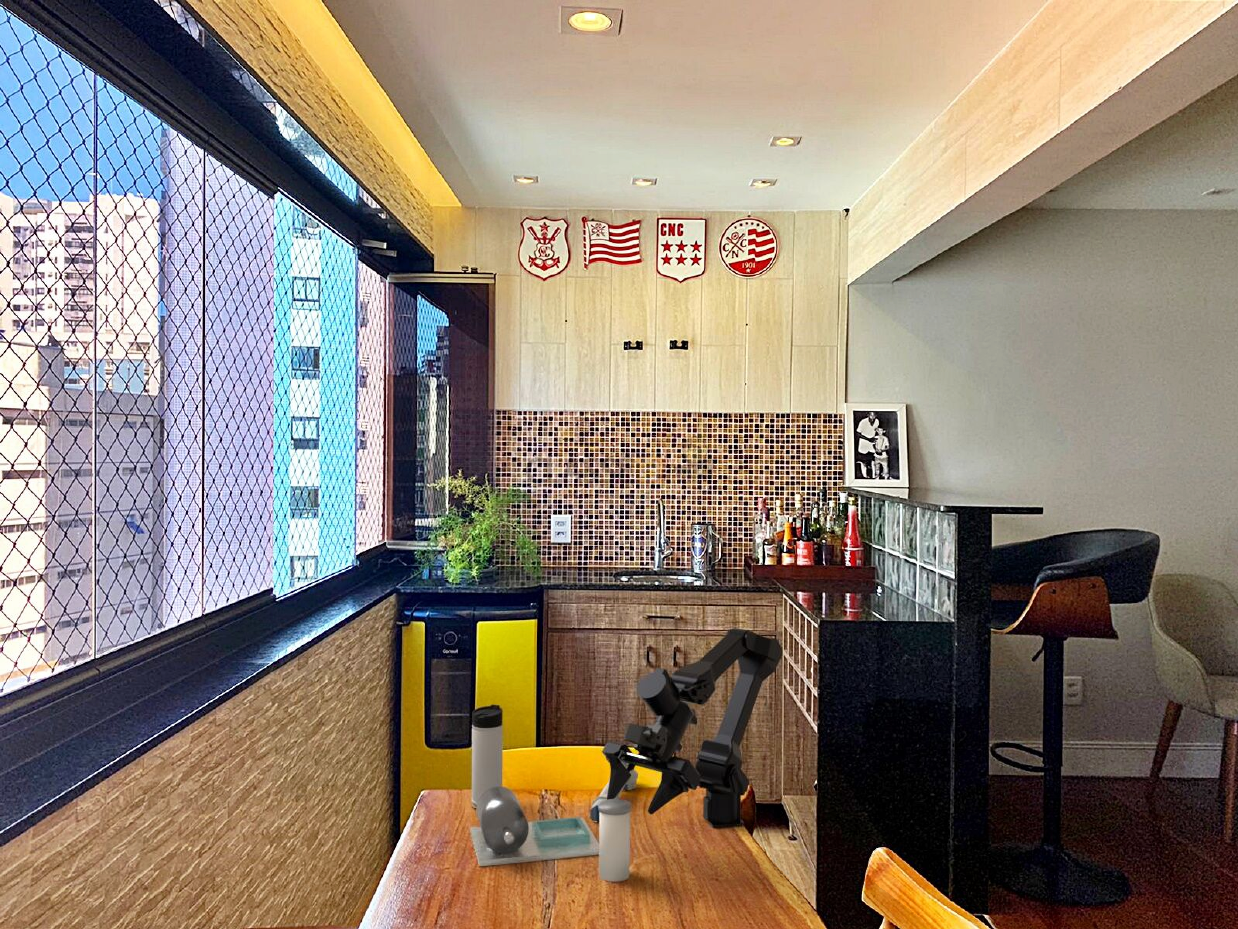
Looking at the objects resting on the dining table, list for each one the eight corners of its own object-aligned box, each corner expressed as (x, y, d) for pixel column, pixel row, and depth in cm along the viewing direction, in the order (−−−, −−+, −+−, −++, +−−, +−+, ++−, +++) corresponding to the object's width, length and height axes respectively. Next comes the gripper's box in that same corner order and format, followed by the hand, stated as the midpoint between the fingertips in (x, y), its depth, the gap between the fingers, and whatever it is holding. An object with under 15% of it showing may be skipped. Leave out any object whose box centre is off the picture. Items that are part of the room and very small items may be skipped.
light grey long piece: (585, 803, 186) (616, 750, 210) (586, 835, 187) (617, 778, 211) (611, 806, 185) (639, 752, 209) (612, 838, 186) (640, 780, 210)
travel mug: (508, 802, 197) (509, 706, 197) (491, 813, 191) (492, 713, 191) (483, 798, 200) (483, 703, 200) (465, 808, 194) (466, 710, 194)
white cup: (625, 867, 166) (626, 797, 166) (634, 880, 160) (634, 809, 160) (594, 870, 164) (594, 800, 164) (602, 883, 159) (602, 811, 159)
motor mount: (582, 822, 186) (583, 776, 186) (604, 858, 169) (604, 808, 169) (469, 832, 181) (470, 785, 181) (480, 871, 163) (480, 819, 163)
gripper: (609, 696, 175) (567, 770, 167) (691, 713, 163) (650, 794, 155) (635, 731, 181) (596, 804, 173) (716, 750, 169) (679, 829, 161)
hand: (628, 807), depth 165 cm, fingers open, 9 cm apart
